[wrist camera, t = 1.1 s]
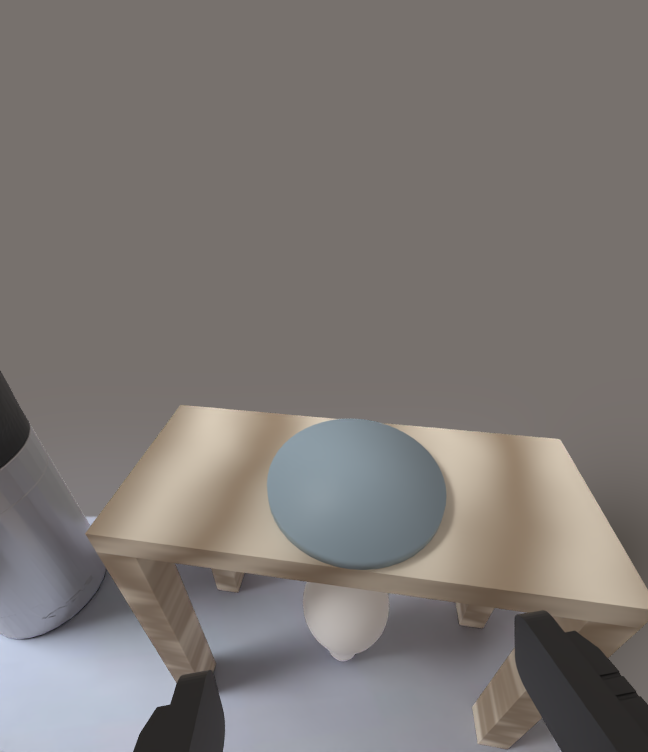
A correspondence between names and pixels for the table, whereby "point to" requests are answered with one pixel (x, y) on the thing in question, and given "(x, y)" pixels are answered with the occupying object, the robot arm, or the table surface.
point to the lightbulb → (345, 617)
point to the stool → (369, 530)
